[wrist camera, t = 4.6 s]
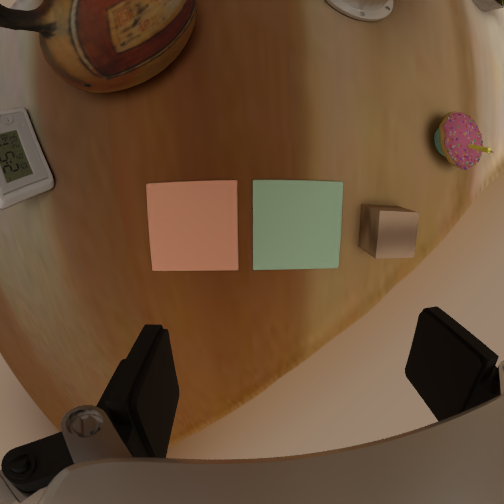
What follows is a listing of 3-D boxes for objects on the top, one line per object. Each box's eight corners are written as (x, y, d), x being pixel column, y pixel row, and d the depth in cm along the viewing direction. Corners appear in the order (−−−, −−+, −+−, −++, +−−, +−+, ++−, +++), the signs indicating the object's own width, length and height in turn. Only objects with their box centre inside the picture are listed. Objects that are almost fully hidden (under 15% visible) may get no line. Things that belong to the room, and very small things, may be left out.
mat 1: (147, 183, 37) (146, 183, 37) (237, 179, 37) (237, 180, 37) (153, 270, 40) (152, 270, 40) (238, 269, 41) (238, 270, 40)
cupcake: (454, 176, 38) (506, 183, 26) (418, 152, 37) (470, 151, 25) (466, 131, 36) (516, 128, 24) (430, 104, 35) (480, 93, 23)
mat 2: (252, 179, 37) (252, 179, 37) (342, 182, 38) (342, 182, 38) (253, 269, 41) (253, 269, 40) (337, 267, 41) (338, 267, 41)
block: (361, 204, 39) (379, 210, 33) (397, 206, 39) (418, 212, 33) (358, 246, 41) (375, 258, 35) (393, 246, 41) (413, 257, 35)
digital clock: (60, 189, 36) (16, 197, 26) (23, 211, 37) (-20, 223, 26) (40, 97, 32) (-2, 86, 22) (5, 124, 32) (-37, 121, 22)
